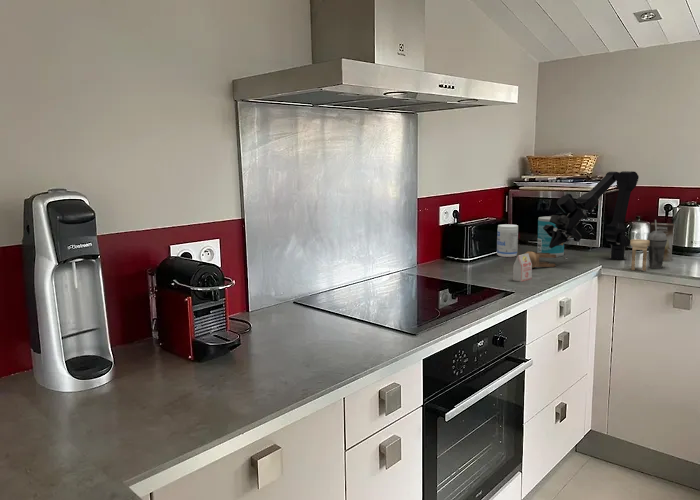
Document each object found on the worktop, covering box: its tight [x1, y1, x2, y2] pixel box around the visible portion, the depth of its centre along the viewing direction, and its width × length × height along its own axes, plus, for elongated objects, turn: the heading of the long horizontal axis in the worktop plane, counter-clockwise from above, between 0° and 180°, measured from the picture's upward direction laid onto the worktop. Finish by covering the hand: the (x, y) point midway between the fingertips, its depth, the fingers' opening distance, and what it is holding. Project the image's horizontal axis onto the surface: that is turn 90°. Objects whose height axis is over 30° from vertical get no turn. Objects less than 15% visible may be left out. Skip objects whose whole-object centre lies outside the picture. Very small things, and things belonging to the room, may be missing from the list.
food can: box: [536, 215, 565, 258], centre depth 266 cm, size 12×12×18 cm
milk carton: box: [512, 252, 533, 283], centre depth 217 cm, size 4×7×10 cm, turn 128°
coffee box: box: [647, 222, 675, 262], centre depth 249 cm, size 9×6×16 cm
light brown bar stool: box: [629, 238, 650, 272], centre depth 230 cm, size 7×7×12 cm
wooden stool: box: [524, 251, 557, 269], centre depth 240 cm, size 7×7×12 cm
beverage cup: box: [646, 219, 667, 270], centre depth 231 cm, size 7×7×20 cm
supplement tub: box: [496, 223, 519, 258], centre depth 269 cm, size 10×10×15 cm
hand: (550, 247), depth 241 cm, fingers closed
